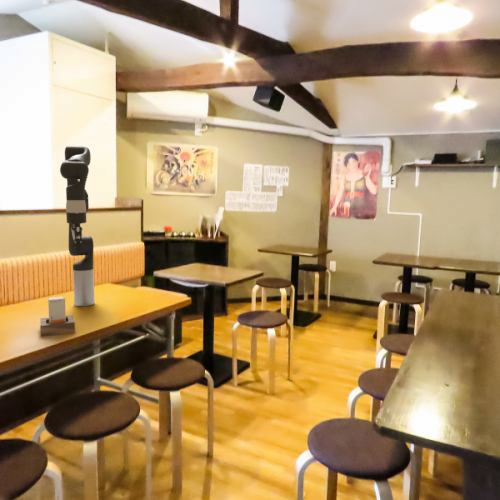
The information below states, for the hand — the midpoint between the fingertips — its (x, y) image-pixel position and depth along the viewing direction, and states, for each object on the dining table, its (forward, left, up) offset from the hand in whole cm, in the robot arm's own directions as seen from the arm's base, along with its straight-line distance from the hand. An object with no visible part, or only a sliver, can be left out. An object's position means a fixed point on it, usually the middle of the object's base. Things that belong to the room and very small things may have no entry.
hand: (77, 250), depth 180 cm
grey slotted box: (+9, -9, -30) cm, 33 cm away
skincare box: (+9, -9, -29) cm, 32 cm away
